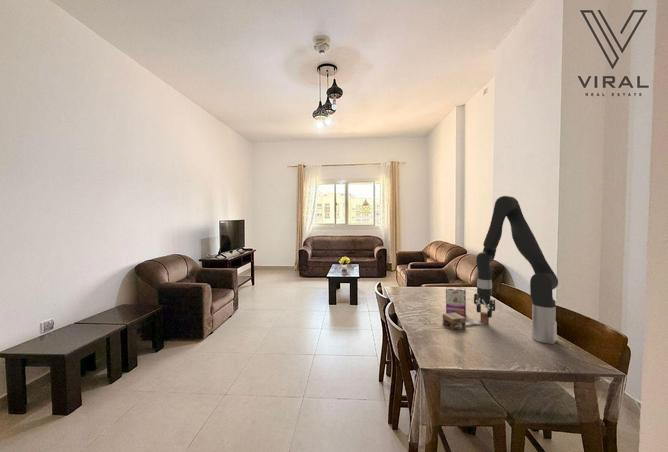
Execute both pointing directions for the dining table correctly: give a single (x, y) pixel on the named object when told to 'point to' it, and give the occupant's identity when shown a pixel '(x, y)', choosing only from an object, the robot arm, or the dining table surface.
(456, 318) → the walnut cabinet
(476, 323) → the brown l-shaped stand
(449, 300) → the candy bar box
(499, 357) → the dining table surface
